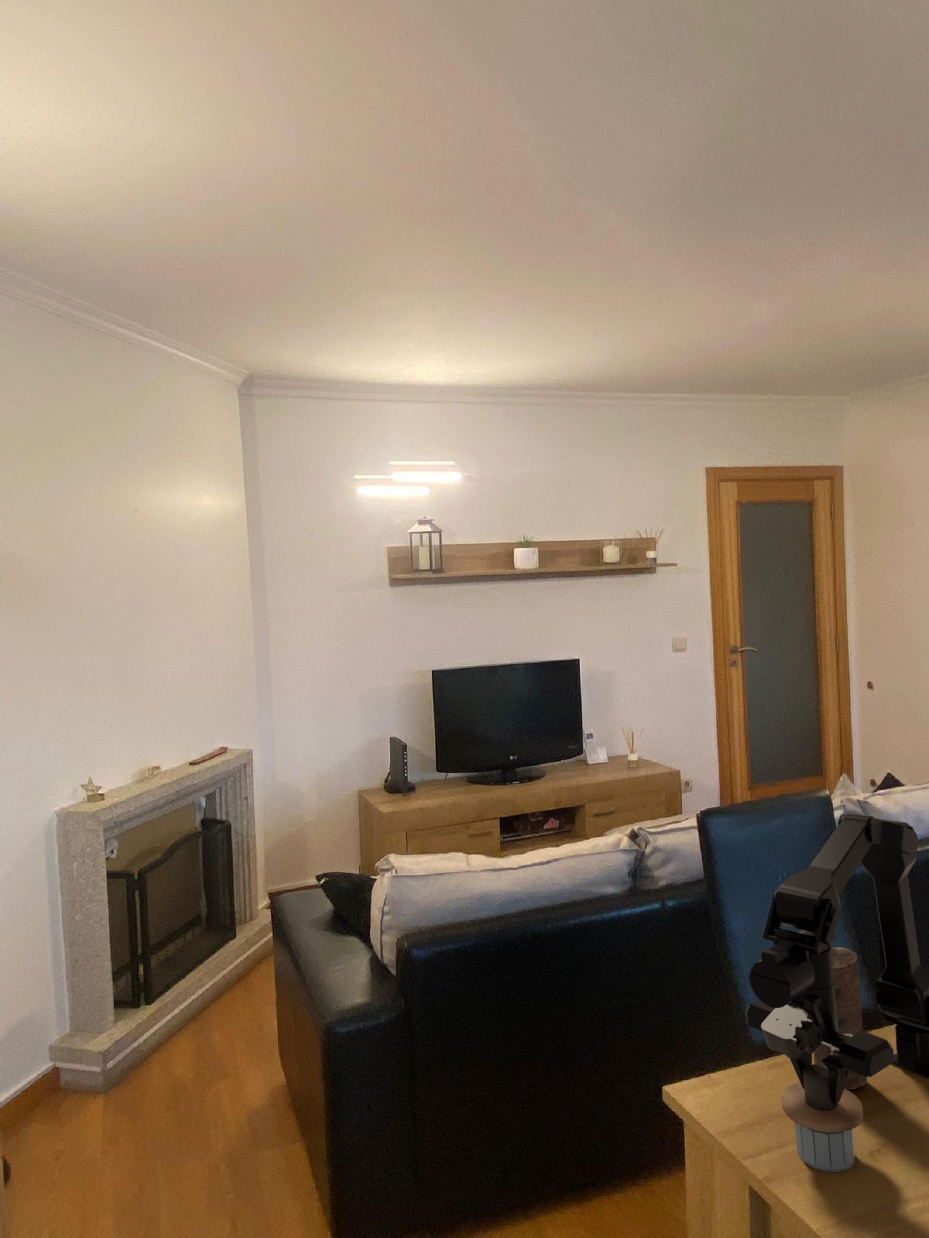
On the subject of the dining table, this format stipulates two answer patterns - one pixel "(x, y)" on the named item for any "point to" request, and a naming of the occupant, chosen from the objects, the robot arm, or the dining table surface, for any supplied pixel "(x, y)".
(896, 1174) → the dining table surface
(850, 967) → the candle
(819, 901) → the robot arm
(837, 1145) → the pot
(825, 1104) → the lid
